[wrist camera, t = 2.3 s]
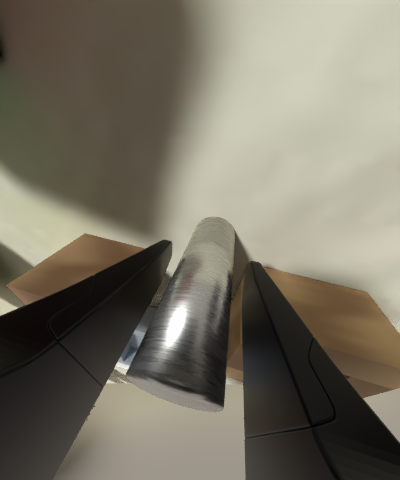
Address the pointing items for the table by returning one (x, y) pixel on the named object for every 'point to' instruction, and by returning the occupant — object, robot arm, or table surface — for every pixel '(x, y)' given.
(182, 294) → the cylinder
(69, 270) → the block
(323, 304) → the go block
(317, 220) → the table surface
